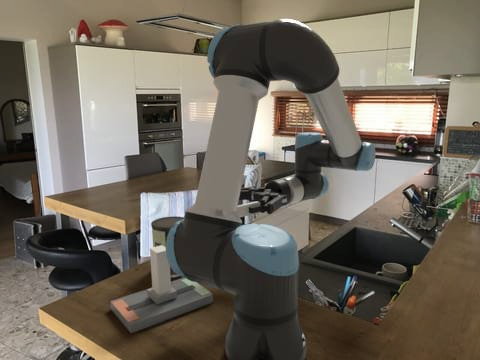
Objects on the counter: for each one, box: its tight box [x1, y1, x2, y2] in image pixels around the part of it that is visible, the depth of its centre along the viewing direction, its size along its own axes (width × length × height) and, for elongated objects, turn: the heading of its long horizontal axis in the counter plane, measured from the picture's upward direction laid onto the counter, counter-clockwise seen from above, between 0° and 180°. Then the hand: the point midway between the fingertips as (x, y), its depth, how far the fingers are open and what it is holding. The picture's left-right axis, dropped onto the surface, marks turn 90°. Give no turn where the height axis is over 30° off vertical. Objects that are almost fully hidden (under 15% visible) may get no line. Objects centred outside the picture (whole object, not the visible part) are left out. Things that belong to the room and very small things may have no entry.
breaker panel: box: [109, 277, 214, 334], centre depth 90 cm, size 12×20×2 cm, turn 127°
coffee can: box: [150, 215, 184, 279], centre depth 108 cm, size 10×10×14 cm
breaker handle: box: [146, 245, 177, 304], centre depth 88 cm, size 5×5×12 cm
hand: (219, 206), depth 96 cm, fingers open, 13 cm apart
